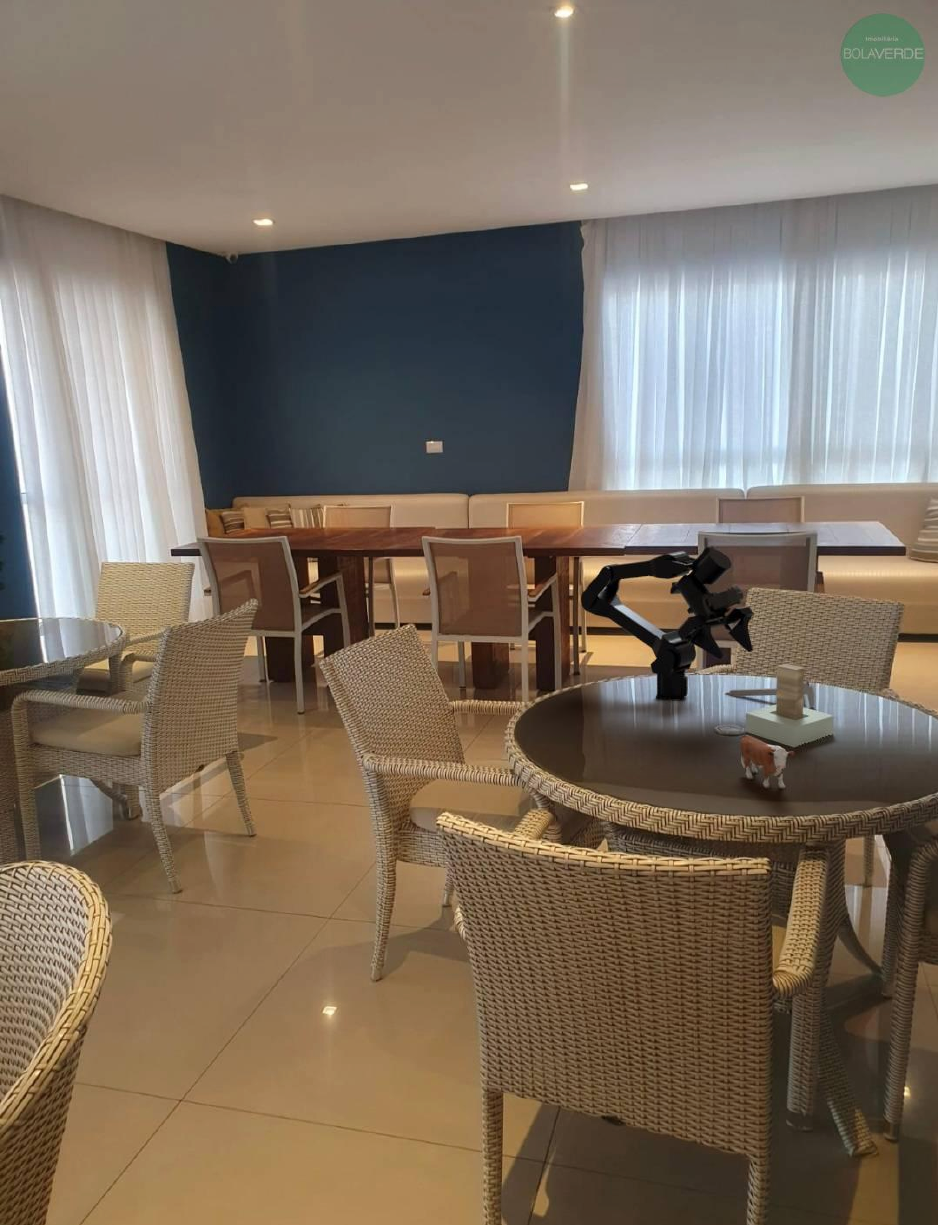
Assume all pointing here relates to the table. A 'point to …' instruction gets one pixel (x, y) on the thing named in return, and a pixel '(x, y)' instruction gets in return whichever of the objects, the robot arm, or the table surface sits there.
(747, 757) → the bull figurine
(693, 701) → the table surface
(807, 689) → the caliper
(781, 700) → the slat
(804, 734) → the end cap
